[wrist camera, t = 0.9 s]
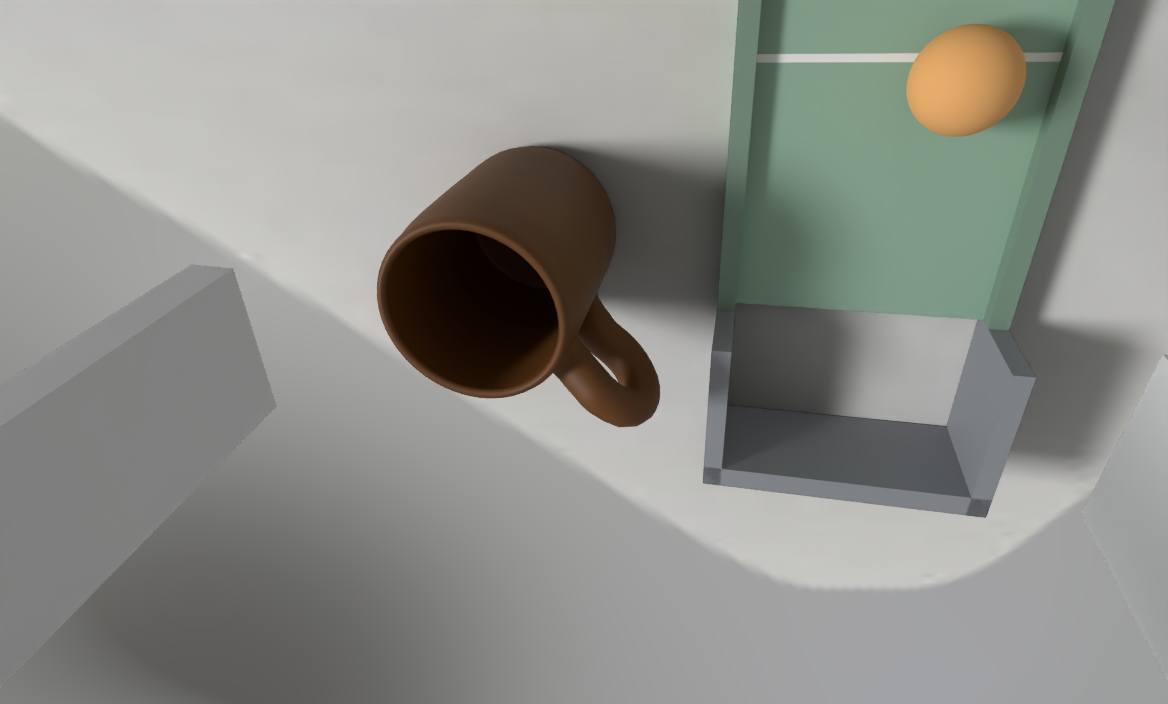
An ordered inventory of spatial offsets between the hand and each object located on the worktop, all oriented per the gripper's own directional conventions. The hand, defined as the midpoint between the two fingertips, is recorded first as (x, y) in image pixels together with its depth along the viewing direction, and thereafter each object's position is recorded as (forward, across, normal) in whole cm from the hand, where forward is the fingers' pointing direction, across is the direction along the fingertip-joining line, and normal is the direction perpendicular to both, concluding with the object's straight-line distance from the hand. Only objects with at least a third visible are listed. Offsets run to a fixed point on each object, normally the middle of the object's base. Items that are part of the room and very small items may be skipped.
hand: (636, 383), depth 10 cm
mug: (+21, -6, -8) cm, 24 cm away
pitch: (+21, +7, -2) cm, 22 cm away
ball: (+19, +8, +1) cm, 21 cm away
